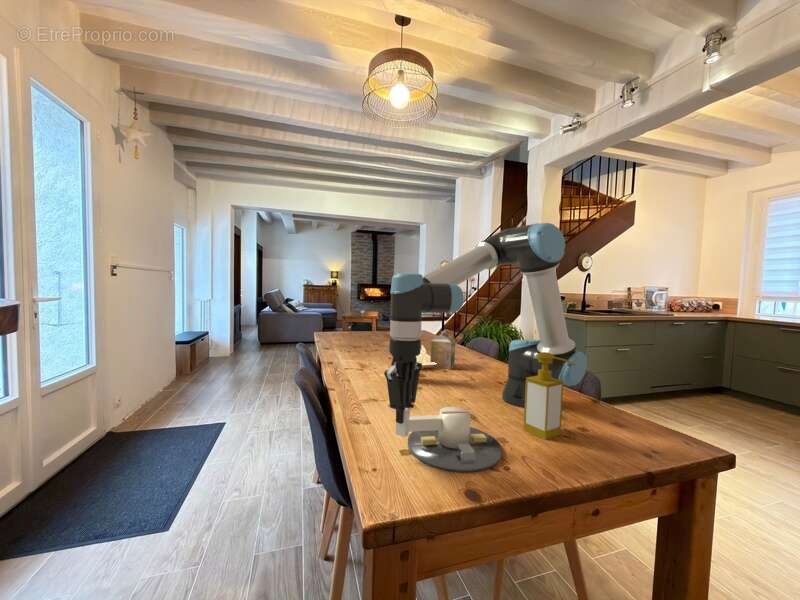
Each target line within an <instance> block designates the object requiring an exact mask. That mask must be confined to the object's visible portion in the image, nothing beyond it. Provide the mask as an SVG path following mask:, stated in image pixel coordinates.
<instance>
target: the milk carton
mask: <svg viewBox="0 0 800 600" xmlns="http://www.w3.org/2000/svg"><path fill="white" fill-rule="evenodd" d="M429 361H430V362H435V363H437V364H436V365H433V366H432V367H434V368H433V369H437V368H439V369H438V370H445V369H448V371H451V370H452V369H453V368H454V367H455V366H454V365H455V361H456V338H455V337H454V336H452V335H451V334H449V332H447V329H445V330H442V331H441V333H440V334H439V335H438V336H435V337H434V338H432V339H431V341H430V360H429ZM430 362H429V363H430ZM453 366H454V367H453ZM452 367H453V368H452Z"/></svg>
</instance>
